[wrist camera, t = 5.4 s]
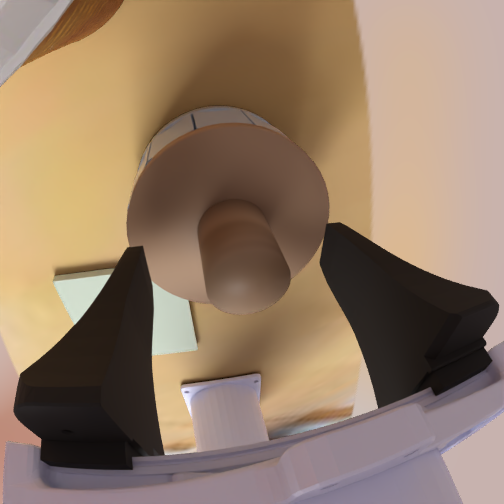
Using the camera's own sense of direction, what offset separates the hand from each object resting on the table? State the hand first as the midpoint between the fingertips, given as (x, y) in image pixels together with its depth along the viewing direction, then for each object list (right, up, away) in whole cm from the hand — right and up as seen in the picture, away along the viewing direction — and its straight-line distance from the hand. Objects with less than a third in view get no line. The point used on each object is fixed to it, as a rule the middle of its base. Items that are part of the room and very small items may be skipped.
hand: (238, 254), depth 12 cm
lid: (-1, +2, +2) cm, 3 cm away
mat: (-8, -4, +10) cm, 14 cm away
